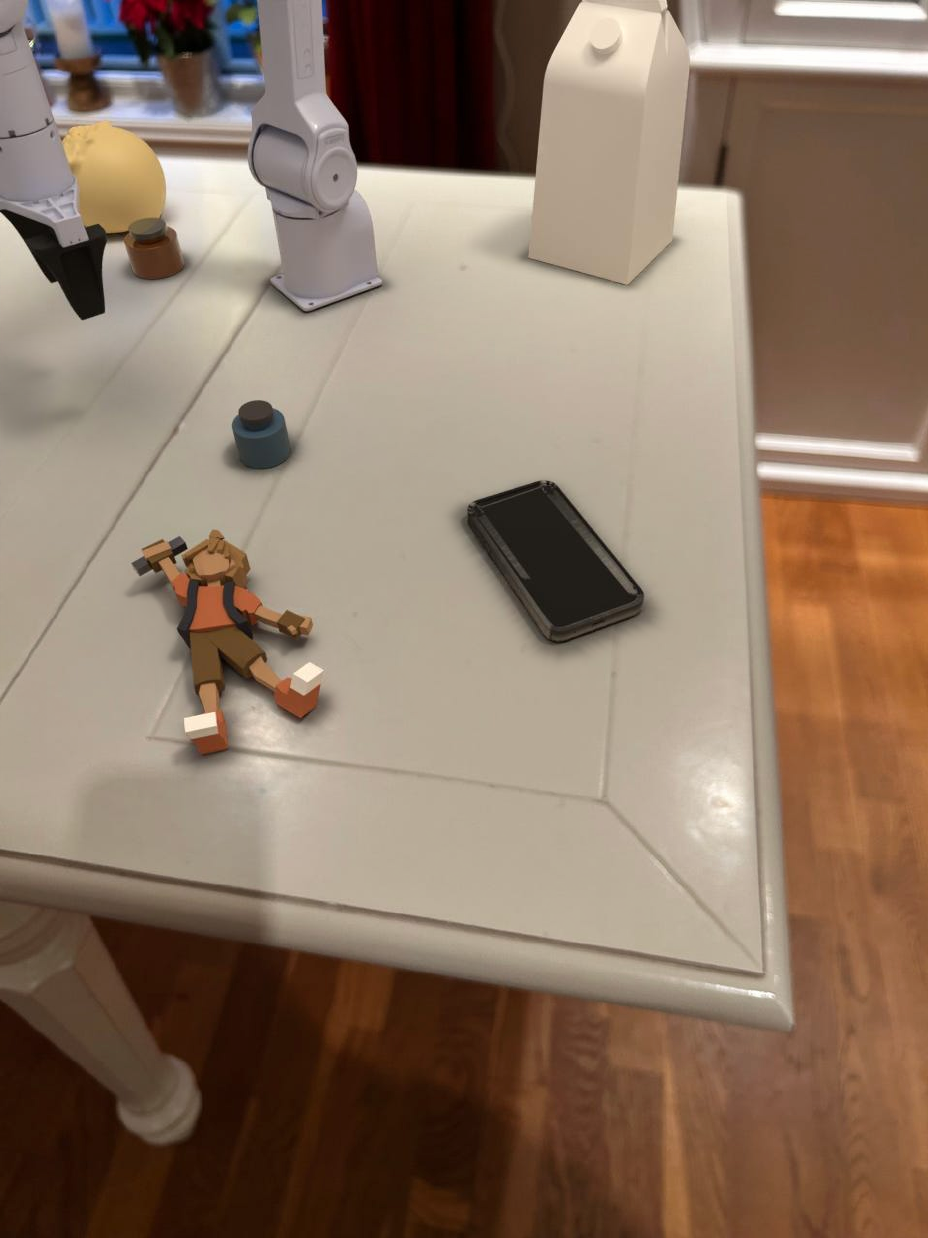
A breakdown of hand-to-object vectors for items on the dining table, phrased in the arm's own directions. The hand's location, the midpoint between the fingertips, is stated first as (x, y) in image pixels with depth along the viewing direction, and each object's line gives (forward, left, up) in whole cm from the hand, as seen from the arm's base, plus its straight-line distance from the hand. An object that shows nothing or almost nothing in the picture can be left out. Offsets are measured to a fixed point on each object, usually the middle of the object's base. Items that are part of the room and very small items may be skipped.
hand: (76, 296), depth 77 cm
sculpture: (-14, -34, -10) cm, 38 cm away
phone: (-18, +41, -10) cm, 46 cm away
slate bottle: (-7, +16, -10) cm, 20 cm away
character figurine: (+5, +34, -10) cm, 36 cm away
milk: (-54, +6, -10) cm, 56 cm away
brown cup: (-13, -21, -10) cm, 27 cm away
